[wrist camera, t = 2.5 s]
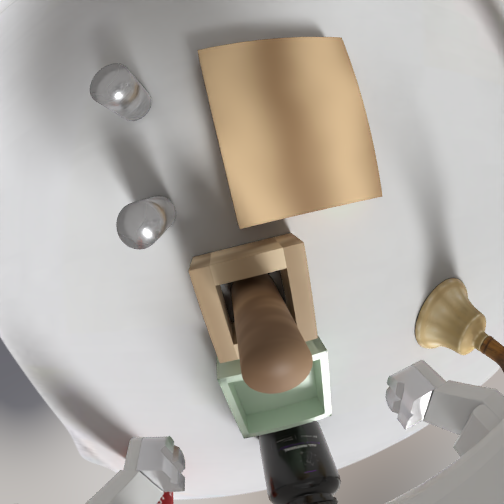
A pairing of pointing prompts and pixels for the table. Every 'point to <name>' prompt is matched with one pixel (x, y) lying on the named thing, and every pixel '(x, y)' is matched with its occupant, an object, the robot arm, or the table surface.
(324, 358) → the tray
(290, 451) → the supplement bottle
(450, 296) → the hand bell
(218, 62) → the curved tan panel
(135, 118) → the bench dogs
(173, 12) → the table surface
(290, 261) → the socket block
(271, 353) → the dowel
